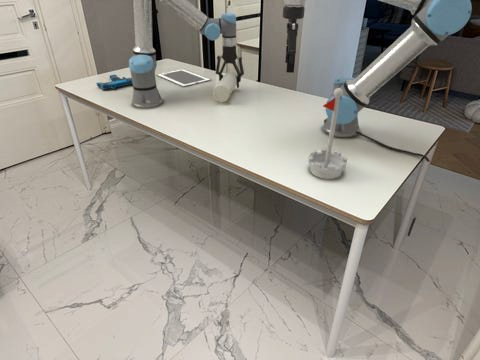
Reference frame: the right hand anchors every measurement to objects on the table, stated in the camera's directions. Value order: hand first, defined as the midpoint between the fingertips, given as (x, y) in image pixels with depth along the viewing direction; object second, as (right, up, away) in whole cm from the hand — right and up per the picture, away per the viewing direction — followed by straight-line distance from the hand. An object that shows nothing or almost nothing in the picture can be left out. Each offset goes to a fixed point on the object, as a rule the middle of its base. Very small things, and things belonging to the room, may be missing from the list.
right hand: (289, 67), depth 131 cm
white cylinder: (-26, +4, +56) cm, 62 cm away
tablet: (-55, +22, +87) cm, 105 cm away
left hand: (-25, +10, +64) cm, 69 cm away
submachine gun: (-90, +17, +79) cm, 121 cm away
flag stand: (+12, -40, -9) cm, 43 cm away
